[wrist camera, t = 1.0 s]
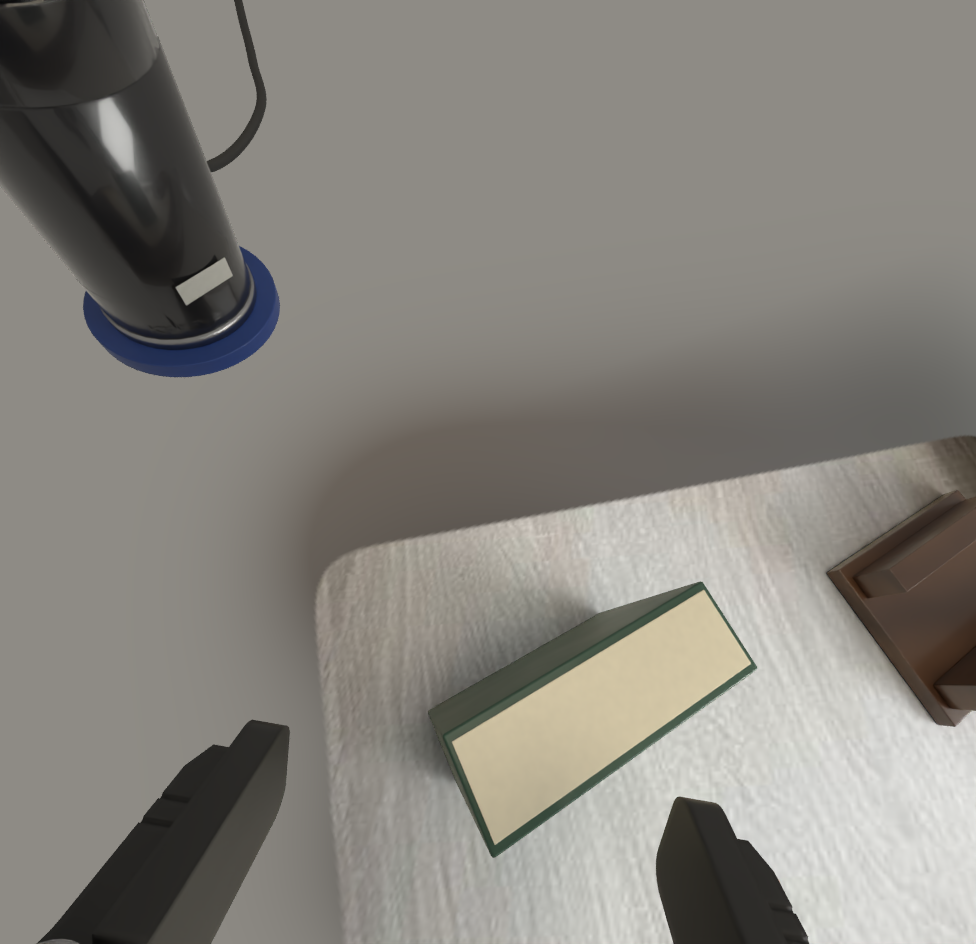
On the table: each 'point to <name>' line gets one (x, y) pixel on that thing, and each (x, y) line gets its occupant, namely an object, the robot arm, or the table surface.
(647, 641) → the book
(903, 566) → the rack
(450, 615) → the table surface
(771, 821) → the table surface
